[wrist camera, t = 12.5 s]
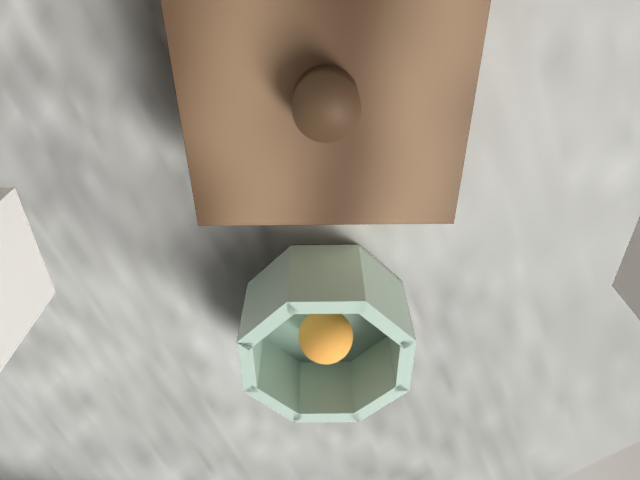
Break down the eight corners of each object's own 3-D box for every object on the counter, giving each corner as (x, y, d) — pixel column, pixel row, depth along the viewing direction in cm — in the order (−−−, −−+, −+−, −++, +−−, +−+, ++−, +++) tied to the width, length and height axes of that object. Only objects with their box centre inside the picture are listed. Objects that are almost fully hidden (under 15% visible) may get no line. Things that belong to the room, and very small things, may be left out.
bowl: (256, 359, 34) (247, 422, 29) (243, 245, 28) (230, 302, 24) (394, 358, 34) (405, 421, 29) (406, 244, 28) (421, 300, 24)
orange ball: (299, 336, 31) (298, 376, 28) (298, 297, 29) (296, 336, 27) (350, 336, 31) (353, 376, 28) (352, 297, 29) (355, 335, 27)
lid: (209, 197, 23) (191, 243, 20) (167, -80, 17) (133, -78, 14) (441, 196, 23) (461, 241, 20) (481, -82, 17) (520, -82, 14)
